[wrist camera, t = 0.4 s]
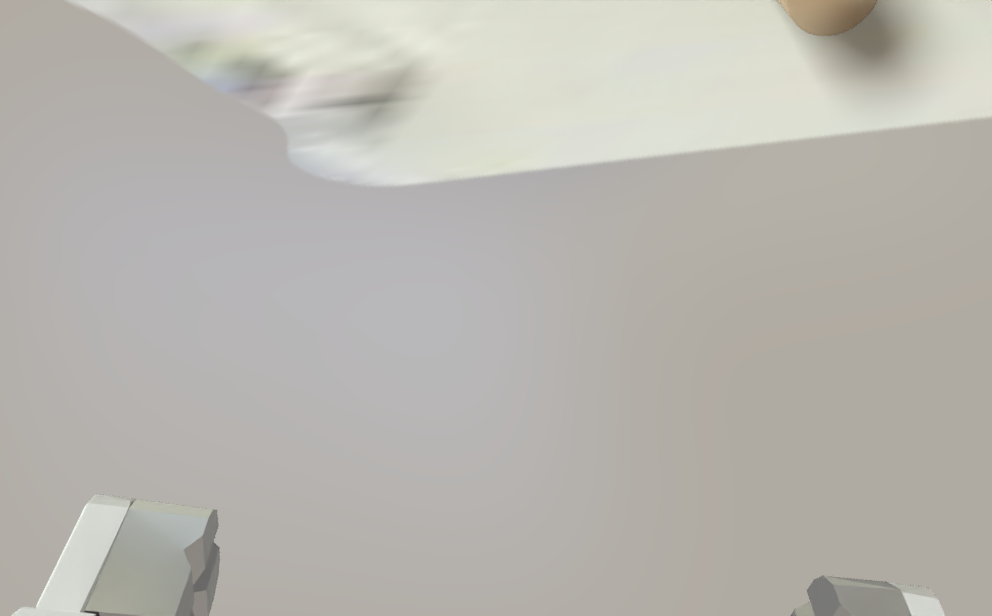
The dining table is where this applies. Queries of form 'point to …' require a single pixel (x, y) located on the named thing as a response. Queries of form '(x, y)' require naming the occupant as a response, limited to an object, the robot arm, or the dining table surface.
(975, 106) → the dining table surface
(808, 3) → the wooden peg
